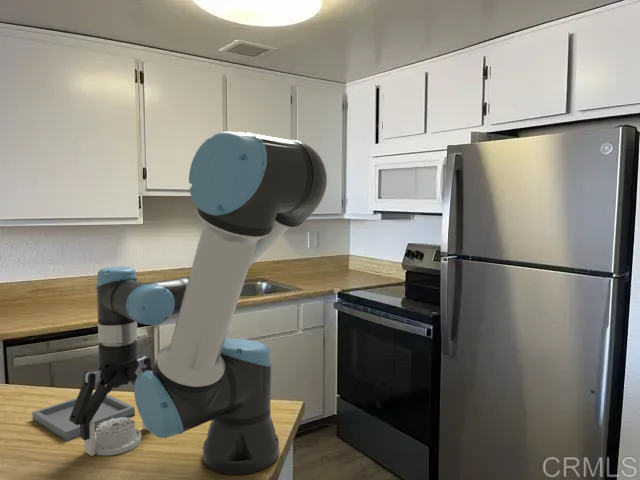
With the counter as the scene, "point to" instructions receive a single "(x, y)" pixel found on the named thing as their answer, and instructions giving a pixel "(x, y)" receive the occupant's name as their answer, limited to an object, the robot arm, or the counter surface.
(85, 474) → the counter surface
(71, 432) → the dock tray
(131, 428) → the mechanical component
